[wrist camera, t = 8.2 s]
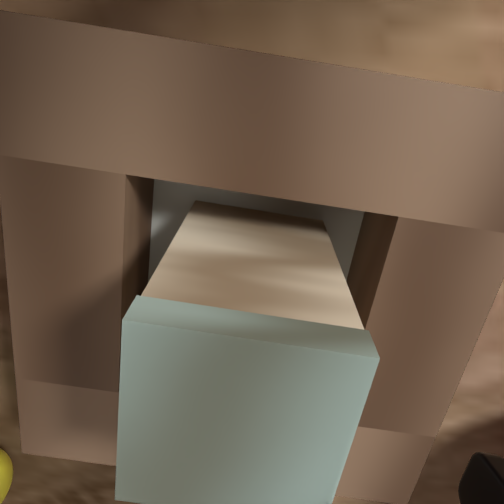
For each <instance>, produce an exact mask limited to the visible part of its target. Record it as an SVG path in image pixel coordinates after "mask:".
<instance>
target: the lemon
mask: <svg viewBox="0 0 504 504" xmlns="http://www.w3.org/2000/svg"><path fill="white" fill-rule="evenodd" d="M12 478H13V465H12V461H11V459H10V457H9V456H8V454H7V453H6V452H5V451H4V450H2V449H0V504H1V503H2V502H3V500H4V498H5V497H6V495H7V493H8V491H9V489H10V486H11V483H12Z"/></svg>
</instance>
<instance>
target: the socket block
mask: <svg viewBox="0 0 504 504" xmlns="http://www.w3.org/2000/svg"><path fill="white" fill-rule="evenodd" d="M195 200H197V201H204V202H210V203H216V204H222V205H229V206H235V207H241V208H248V209H254V210H260V211H266V212H273V213H279V214H285V215H292V216H298V217H304V218H310V219H317V220H323V222H324V224H325V227H326V230H327V232H328V235H329V238H330V240H331V243H332V246H333V248H334V251H335V253H336V256H337V259H338V261H339V264H340V267H341V269H342V272H343V275H344V277H345V280H346V282H347V285H348V288H349V290H350V293H351V296H352V298H353V301H354V304H355V306H356V309H357V311H358V314H359V317H360V319H361V322H362V325H363V327H364V330H369V332H370V334H371V337H372V339H373V342H374V344H375V347H376V349H377V352H378V355H379V357H380V360H379V363H378V366H377V369H376V372H375V375H374V378H373V381H372V384H371V387H370V390H369V393H368V396H367V399H366V402H365V405H364V408H363V411H362V414H361V417H360V420H359V423H358V427H357V430H356V433H355V436H354V439H353V442H352V445H351V448H350V451H349V454H348V457H347V460H346V463H345V466H344V469H343V472H342V475H341V478H340V481H339V484H338V487H337V490H336V493H335V496H339V497H347V498H354V499H361V500H369V501H376V502H383V503H391V504H408V502H409V500H410V497H411V495H412V493H413V490H414V488H415V485H416V483H417V481H418V478H419V476H420V474H421V471H422V469H423V467H424V464H425V462H426V460H427V457H428V455H429V453H430V450H431V448H432V445H433V443H434V441H435V438H436V436H437V434H438V431H439V429H440V427H441V424H442V422H443V420H444V417H445V415H446V413H447V410H448V408H449V406H450V403H451V401H452V398H453V396H454V394H455V391H456V389H457V387H458V384H459V382H460V380H461V377H462V375H463V373H464V370H465V368H466V366H467V363H468V361H469V358H470V356H471V354H472V351H473V349H474V347H475V344H476V342H477V340H478V337H479V335H480V333H481V330H482V328H483V326H484V323H485V321H486V319H487V316H488V314H489V311H490V309H491V307H492V304H493V302H494V300H495V297H496V295H497V293H498V290H499V288H500V286H501V283H502V281H503V279H504V92H498V91H492V90H486V89H480V88H474V87H468V86H462V85H456V84H449V83H443V82H437V81H431V80H425V79H419V78H413V77H407V76H400V75H394V74H388V73H382V72H376V71H370V70H364V69H358V68H351V67H345V66H339V65H333V64H327V63H321V62H315V61H309V60H303V59H296V58H290V57H284V56H278V55H272V54H266V53H260V52H254V51H247V50H241V49H235V48H229V47H223V46H217V45H211V44H205V43H198V42H192V41H186V40H180V39H174V38H168V37H162V36H156V35H150V34H143V33H137V32H131V31H125V30H119V29H113V28H107V27H101V26H94V25H88V24H82V23H76V22H70V21H64V20H58V19H52V18H46V17H39V16H33V15H27V14H21V13H15V12H9V11H3V10H0V205H1V217H2V228H3V240H4V252H5V263H6V275H7V287H8V298H9V310H10V322H11V333H12V345H13V357H14V368H15V380H16V392H17V403H18V415H19V427H20V438H21V450H22V453H24V454H31V455H39V456H46V457H53V458H61V459H68V460H75V461H83V462H90V463H97V464H105V465H112V466H116V458H117V433H118V409H119V384H120V360H121V335H122V319H123V317H124V316H125V314H126V312H127V311H128V309H129V307H130V306H131V304H132V302H133V301H134V299H135V297H136V296H137V295H139V296H141V295H142V293H143V291H144V289H145V288H146V286H147V284H148V282H149V281H150V279H151V277H152V275H153V274H154V272H155V270H156V268H157V267H158V265H159V263H160V261H161V260H162V258H163V256H164V254H165V253H166V251H167V249H168V247H169V246H170V244H171V242H172V240H173V239H174V237H175V235H176V233H177V232H178V230H179V228H180V226H181V225H182V223H183V221H184V219H185V218H186V216H187V214H188V212H189V211H190V209H191V207H192V205H193V204H194V202H195Z"/></svg>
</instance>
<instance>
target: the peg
mask: <svg viewBox="0 0 504 504" xmlns="http://www.w3.org/2000/svg"><path fill="white" fill-rule="evenodd" d="M379 360H380V357H379V355H378V352H377V349H376V347H375V344H374V342H373V339H372V337H371V334H370V332H369V330H364V327H363V325H362V322H361V319H360V317H359V314H358V311H357V309H356V306H355V304H354V301H353V298H352V296H351V293H350V290H349V288H348V285H347V282H346V280H345V277H344V275H343V272H342V269H341V267H340V264H339V261H338V259H337V256H336V253H335V251H334V248H333V246H332V243H331V240H330V238H329V235H328V232H327V230H326V227H325V224H324V222H323V220H317V219H310V218H304V217H298V216H292V215H285V214H279V213H273V212H266V211H260V210H254V209H248V208H241V207H235V206H229V205H222V204H216V203H210V202H204V201H197V200H195V202H194V204H193V205H192V207H191V209H190V211H189V212H188V214H187V216H186V218H185V219H184V221H183V223H182V225H181V226H180V228H179V230H178V232H177V233H176V235H175V237H174V239H173V240H172V242H171V244H170V246H169V247H168V249H167V251H166V253H165V254H164V256H163V258H162V260H161V261H160V263H159V265H158V267H157V268H156V270H155V272H154V274H153V275H152V277H151V279H150V281H149V282H148V284H147V286H146V288H145V289H144V291H143V293H142V295H141V296H139V295H137V296H136V297H135V299H134V301H133V302H132V304H131V306H130V307H129V309H128V311H127V312H126V314H125V316H124V317H123V319H122V335H121V360H120V384H119V409H118V433H117V458H116V482H115V500H119V501H127V502H134V503H141V504H332V502H333V499H334V496H335V493H336V490H337V487H338V484H339V481H340V478H341V475H342V472H343V469H344V466H345V463H346V460H347V457H348V454H349V451H350V448H351V445H352V442H353V439H354V436H355V433H356V430H357V427H358V423H359V420H360V417H361V414H362V411H363V408H364V405H365V402H366V399H367V396H368V393H369V390H370V387H371V384H372V381H373V378H374V375H375V372H376V369H377V366H378V363H379Z"/></svg>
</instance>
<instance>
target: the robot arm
mask: <svg viewBox="0 0 504 504" xmlns="http://www.w3.org/2000/svg"><path fill="white" fill-rule="evenodd" d="M458 492H459V499H460V503H461V504H504V458H502V457H501V456H499V455H496V454H489V453H482V452H477V453H475V454H474V455H472V457H471V459H470V461H469V463H468V465H467V467H466V470H465V472H464V474H463V476H462V478H461V480H460V483H459V489H458Z"/></svg>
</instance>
